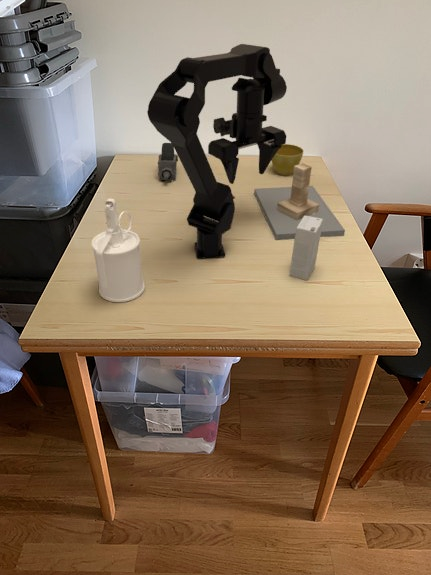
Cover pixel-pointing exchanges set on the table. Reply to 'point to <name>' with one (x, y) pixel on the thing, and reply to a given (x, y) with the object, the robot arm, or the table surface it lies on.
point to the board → (286, 225)
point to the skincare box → (305, 247)
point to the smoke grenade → (118, 259)
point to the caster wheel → (167, 163)
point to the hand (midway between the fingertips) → (246, 178)
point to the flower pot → (287, 159)
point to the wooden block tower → (299, 195)
